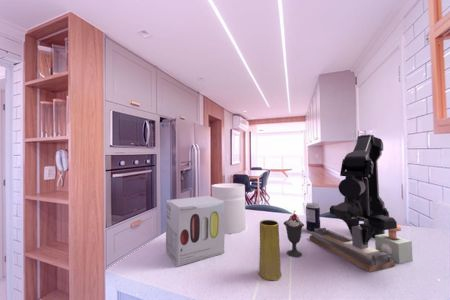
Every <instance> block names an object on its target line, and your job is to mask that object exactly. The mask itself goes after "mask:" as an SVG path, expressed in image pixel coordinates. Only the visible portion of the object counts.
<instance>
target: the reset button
mask: <svg viewBox="0 0 450 300" xmlns="http://www.w3.org/2000/svg"><path fill="white" fill-rule="evenodd" d="M401 231H402V226H401V225H400V224H397V228H395V229H389V230H388V234H389V239H391V240H394V241H395V240H397V237H398V235H397V232H401Z"/></svg>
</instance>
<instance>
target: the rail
mask: <svg viewBox="0 0 450 300" xmlns="http://www.w3.org/2000/svg"><path fill="white" fill-rule="evenodd" d="M314 231H315V232H310V235H309V241H311V242H313V243H315V244H317V245H318V246H320V247H321V248H324V249H326V250H327V251H329V252H331V253H333V254H335V255H337V256H338V257H341V258H342V259H343V260H346V261H348V262H350V263H351V264H353V265H355V266H357V267H358V268H360V269H363V271H366V272H367V273H373V272H376V271H377V272H378V271H381V270H386V269H389V268H394V267H395V262H394V261H392V256H390V255H388V254H387V253H382V252H380V251H379V254H374V255H372V259H370V258H368V257H366V256H364V255H362V254H360V253H358V252H355V251H353V250H351V249H349V248H347V247H345V246H343V243H344V242H350V241H352V238H349V237H347V236H344V235H341V234H340V233H336V232H335V231H333V230H330V229H327V227H320V228H317V229H314Z"/></svg>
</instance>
